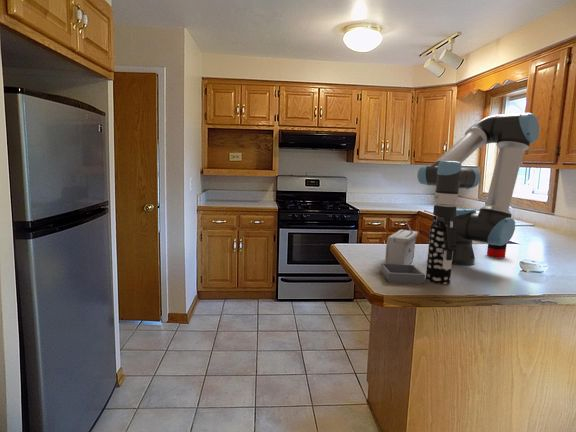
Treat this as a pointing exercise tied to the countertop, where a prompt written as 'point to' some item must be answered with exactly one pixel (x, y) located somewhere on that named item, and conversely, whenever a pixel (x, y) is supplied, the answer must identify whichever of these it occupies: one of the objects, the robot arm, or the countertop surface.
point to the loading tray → (402, 274)
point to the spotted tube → (437, 257)
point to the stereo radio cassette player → (401, 247)
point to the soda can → (496, 251)
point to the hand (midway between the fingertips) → (439, 263)
